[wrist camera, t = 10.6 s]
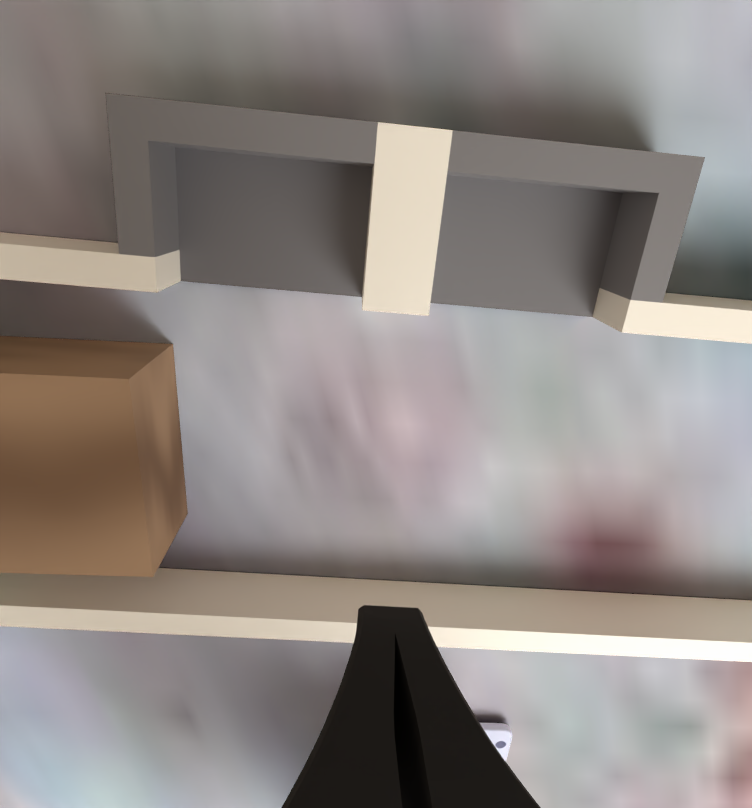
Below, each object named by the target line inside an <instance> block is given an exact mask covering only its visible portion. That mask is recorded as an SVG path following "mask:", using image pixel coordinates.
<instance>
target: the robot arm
mask: <svg viewBox="0 0 752 808" xmlns="http://www.w3.org/2000/svg"><path fill="white" fill-rule="evenodd" d="M511 740H512V731H511V728H510V726H508V725H507V724H503V723H481V722H479V721H478V720H477V718H476V717H475V715H474V713H473V712H472V710H471V709H470V707H469V705H468V704H467V702H466V700H465V698H464V697H463V695H462V693H461V691H460V690H459V688H458V686H457V684H456V682H455V681H454V679H453V677H452V675H451V673H450V672H449V670H448V668H447V666H446V664H445V662H444V660H443V658H442V656H441V654H440V652H439V650H438V648H437V646H436V644H435V642H434V640H433V637H432V635H431V633H430V631H429V628H428V626H427V624H426V621H425V619H424V616H423V614H422V612H421V611H420V610H419V608H410V607H391V606H372V605H363V606H362V607H360V608H359V609H358V618H357V627H356V635H355V640H354V643H353V647H352V651H351V655H350V658H349V661H348V664H347V667H346V670H345V673H344V676H343V679H342V682H341V685H340V688H339V690H338V693H337V695H336V698H335V700H334V702H333V705H332V707H331V710H330V712H329V715H328V717H327V720H326V722H325V724H324V726H323V729H322V731H321V733H320V735H319V737H318V739H317V742H316V744H315V746H314V748H313V750H312V752H311V754H310V756H309V758H308V760H307V762H306V764H305V766H304V768H303V770H302V772H301V773H300V775H299V777H298V779H297V781H296V783H295V784H294V786H293V788H292V790H291V792H290V794H289V796H288V797H287V799H286V801H285V803H284V804H283V806H282V808H540V806H539V805H538V804H537V803H536V801H535V800H534V799H533V798H532V796H531V795H530V794H529V792H528V791H527V790H526V788H525V787H524V786H523V785H522V783H521V782H520V781H519V779H518V778H517V777H516V775H515V774H514V773H513V771H512V770H511V769H510V767H509V766H508V764H507V763H506V759H507V755H508V752H509V748H510V744H511Z"/></svg>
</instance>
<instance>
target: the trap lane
mask: <svg viewBox="0 0 752 808" xmlns="http://www.w3.org/2000/svg"><path fill="white" fill-rule="evenodd" d="M106 105H107V117H108V129H109V141H110V153H111V165H112V177H113V189H114V201H115V213H116V225H117V237H118V243H113V242H102V241H91V240H80V239H69V238H58V237H47V236H36V235H25V234H14V233H3V232H0V279H5V280H16V281H28V282H40V283H51V284H63V285H75V286H86V287H98V288H110V289H121V290H133V291H145V292H156V293H157V292H159V291H161V290H163V289H165V288H167V287H169V286H172V285H174V284H176V283H178V282H180V281H187V282H198V283H210V284H221V285H232V286H244V287H255V288H267V289H278V290H290V291H301V292H313V293H324V294H335V295H347V296H358V297H362V310H366V311H378V312H389V313H401V314H413V315H424V316H429V309H430V303H438V304H450V305H461V306H473V307H484V308H496V309H507V310H519V311H530V312H541V313H553V314H564V315H576V316H587V317H594V318H595V319H597V320H599V321H601V322H603V323H605V324H607V325H609V326H611V327H612V328H614V329H616V330H618V331H620V332H622V333H634V334H646V335H657V336H669V337H681V338H692V339H704V340H716V341H727V342H739V343H751V344H752V301H751V300H740V299H729V298H718V297H707V296H696V295H685V294H674V293H666V289H667V286H668V282H669V279H670V275H671V272H672V269H673V265H674V262H675V258H676V255H677V251H678V248H679V245H680V241H681V238H682V234H683V231H684V227H685V224H686V220H687V217H688V214H689V210H690V207H691V203H692V200H693V196H694V193H695V190H696V186H697V183H698V179H699V176H700V172H701V169H702V166H703V162H704V159H705V157H697V156H687V155H678V154H669V153H659V152H650V151H641V150H631V149H622V148H613V147H604V146H594V145H585V144H576V143H566V142H557V141H548V140H539V139H529V138H520V137H511V136H501V135H492V134H483V133H473V132H464V131H455V130H446V129H436V128H427V127H418V126H408V125H399V124H390V123H381V122H371V121H362V120H353V119H343V118H334V117H325V116H315V115H306V114H297V113H288V112H278V111H269V110H260V109H250V108H241V107H232V106H223V105H213V104H204V103H195V102H185V101H176V100H167V99H157V98H148V97H139V96H130V95H120V94H111V93H106ZM363 605H372V606H391V607H410V608H419V610H420V611H421V612H422V614H423V616H424V619H425V621H426V624H427V626H428V628H429V631H430V633H431V635H432V637H433V640H434V642H435V644H436V646H437V647H449V648H470V649H491V650H512V651H533V652H554V653H575V654H597V655H618V656H639V657H660V658H681V659H702V660H723V661H744V662H752V600H733V599H715V598H697V597H679V596H661V595H642V594H624V593H606V592H588V591H570V590H551V589H533V588H515V587H497V586H479V585H460V584H442V583H424V582H406V581H388V580H369V579H351V578H333V577H315V576H297V575H278V574H260V573H242V572H224V571H206V570H187V569H169V568H158V569H157V571H156V573H155V575H154V577H134V576H98V575H62V574H25V573H0V626H8V627H29V628H50V629H71V630H92V631H113V632H134V633H155V634H176V635H197V636H218V637H239V638H260V639H281V640H302V641H323V642H344V643H354V640H355V635H356V627H357V618H358V609H359V608H360V607H362V606H363Z"/></svg>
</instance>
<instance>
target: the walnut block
mask: <svg viewBox="0 0 752 808" xmlns="http://www.w3.org/2000/svg"><path fill="white" fill-rule="evenodd" d="M187 514H188V513H187V501H186V490H185V478H184V467H183V455H182V444H181V432H180V421H179V409H178V398H177V386H176V375H175V363H174V352H173V344H165V343H144V342H122V341H101V340H80V339H59V338H37V337H16V336H0V573H25V574H62V575H98V576H134V577H154V575H155V573H156V571H157V569H158V567H159V565H160V564H161V562H162V560H163V558H164V556H165V554H166V553H167V551H168V549H169V547H170V545H171V543H172V541H173V540H174V538H175V536H176V534H177V532H178V530H179V528H180V527H181V525H182V523H183V521H184V519H185V517H186V516H187Z"/></svg>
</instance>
